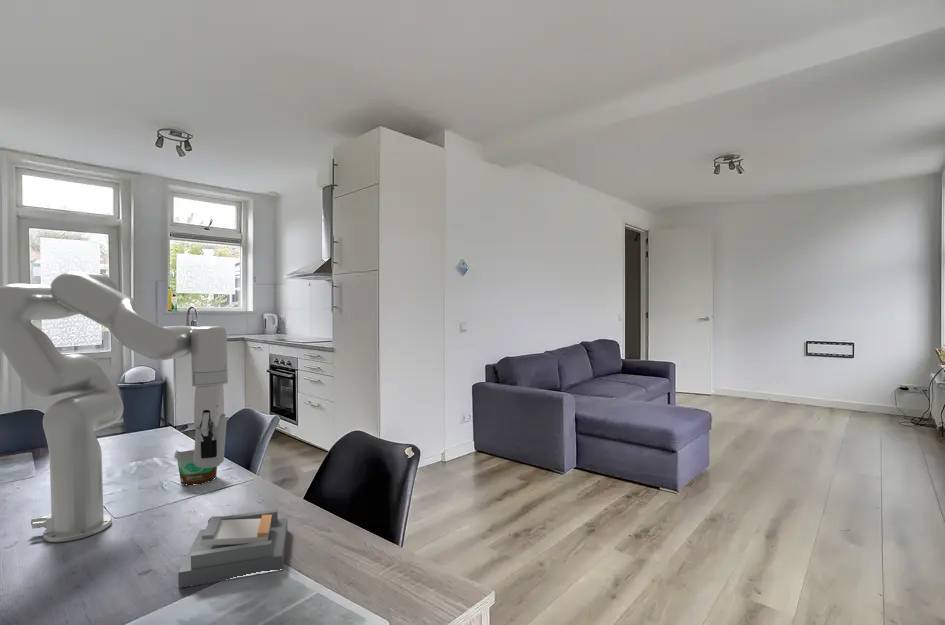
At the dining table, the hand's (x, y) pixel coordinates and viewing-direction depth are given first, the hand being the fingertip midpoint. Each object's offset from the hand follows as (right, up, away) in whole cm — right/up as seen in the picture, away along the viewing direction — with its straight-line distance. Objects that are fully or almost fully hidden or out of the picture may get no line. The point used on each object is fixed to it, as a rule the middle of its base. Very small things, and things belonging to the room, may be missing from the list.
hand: (212, 452), depth 116 cm
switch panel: (+13, -18, -14) cm, 26 cm away
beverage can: (-1, -3, 0) cm, 3 cm away
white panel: (+13, -12, -14) cm, 23 cm away
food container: (-19, -17, +29) cm, 39 cm away
